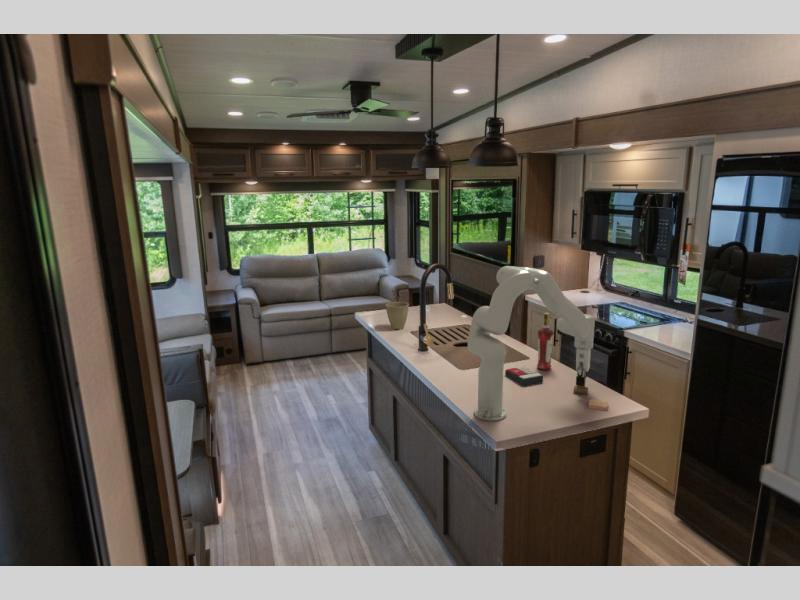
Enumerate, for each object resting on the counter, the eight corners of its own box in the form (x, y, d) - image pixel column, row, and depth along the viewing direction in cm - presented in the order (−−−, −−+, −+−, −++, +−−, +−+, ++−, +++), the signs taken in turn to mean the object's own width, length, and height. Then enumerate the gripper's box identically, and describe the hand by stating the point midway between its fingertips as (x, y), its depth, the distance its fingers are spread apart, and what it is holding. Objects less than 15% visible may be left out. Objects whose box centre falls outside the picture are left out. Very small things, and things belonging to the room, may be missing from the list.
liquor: (539, 364, 253) (541, 310, 247) (553, 367, 249) (556, 312, 243) (534, 369, 247) (536, 314, 241) (548, 372, 243) (551, 316, 237)
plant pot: (408, 324, 331) (408, 301, 327) (409, 331, 316) (409, 306, 313) (386, 325, 330) (385, 301, 327) (386, 331, 316) (385, 307, 312)
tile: (607, 406, 206) (606, 411, 201) (589, 403, 209) (588, 408, 204) (607, 402, 206) (607, 407, 201) (589, 399, 209) (588, 404, 204)
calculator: (524, 365, 244) (543, 374, 230) (524, 373, 244) (543, 383, 230) (504, 368, 240) (523, 377, 226) (504, 377, 240) (523, 387, 227)
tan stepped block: (587, 395, 216) (588, 368, 213) (573, 393, 218) (574, 367, 216) (587, 392, 218) (589, 366, 216) (574, 390, 221) (575, 364, 218)
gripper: (590, 350, 204) (588, 390, 208) (595, 338, 219) (592, 375, 223) (571, 348, 208) (569, 387, 211) (577, 337, 223) (574, 373, 226)
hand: (581, 381), depth 217 cm, fingers open, 9 cm apart
